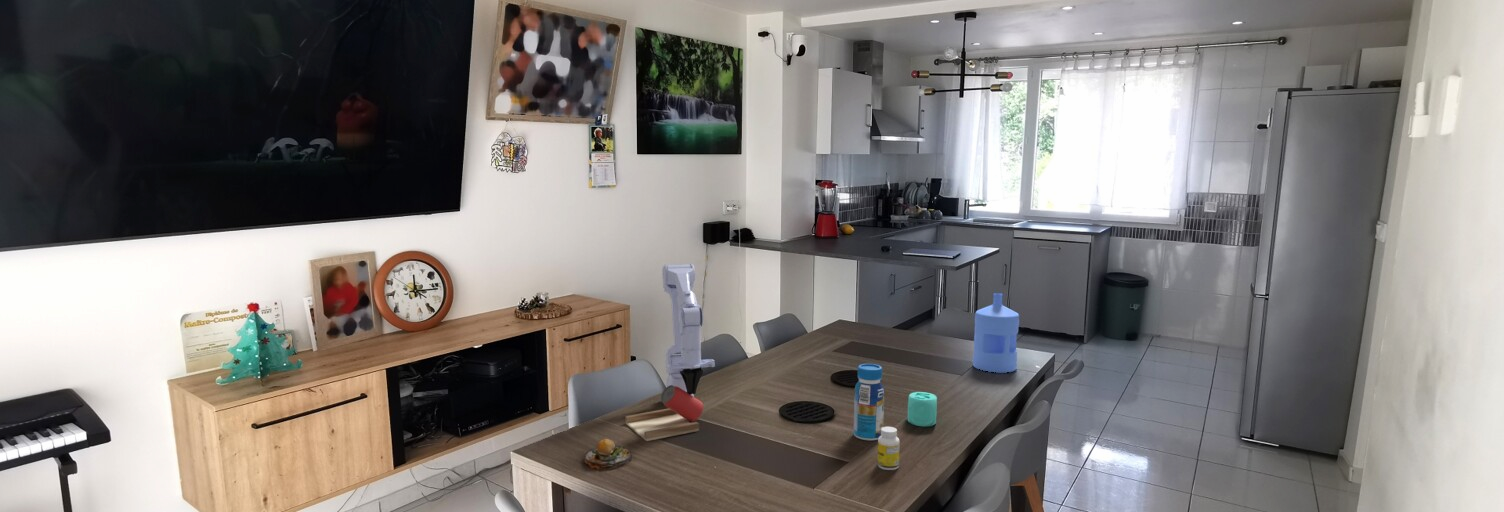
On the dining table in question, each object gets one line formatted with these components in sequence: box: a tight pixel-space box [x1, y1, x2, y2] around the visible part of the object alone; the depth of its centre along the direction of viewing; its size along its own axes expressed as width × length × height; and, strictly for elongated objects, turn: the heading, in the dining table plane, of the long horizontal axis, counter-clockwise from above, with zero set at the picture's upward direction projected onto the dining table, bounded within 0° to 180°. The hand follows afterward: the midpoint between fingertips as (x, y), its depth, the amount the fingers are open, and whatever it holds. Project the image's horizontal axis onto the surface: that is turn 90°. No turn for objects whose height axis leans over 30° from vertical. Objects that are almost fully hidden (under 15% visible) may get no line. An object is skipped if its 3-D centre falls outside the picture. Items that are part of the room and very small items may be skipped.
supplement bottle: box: [876, 426, 901, 471], centre depth 189 cm, size 5×5×10 cm
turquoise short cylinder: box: [907, 391, 938, 428], centre depth 221 cm, size 8×8×8 cm
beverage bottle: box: [853, 363, 885, 442], centre depth 209 cm, size 8×8×20 cm
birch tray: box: [624, 408, 700, 442], centre depth 217 cm, size 16×16×2 cm
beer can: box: [660, 385, 704, 422], centre depth 219 cm, size 7×7×12 cm
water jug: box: [972, 292, 1020, 374], centre depth 278 cm, size 16×16×28 cm
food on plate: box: [584, 437, 633, 470], centre depth 193 cm, size 12×12×8 cm
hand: (691, 393), depth 220 cm, fingers closed
